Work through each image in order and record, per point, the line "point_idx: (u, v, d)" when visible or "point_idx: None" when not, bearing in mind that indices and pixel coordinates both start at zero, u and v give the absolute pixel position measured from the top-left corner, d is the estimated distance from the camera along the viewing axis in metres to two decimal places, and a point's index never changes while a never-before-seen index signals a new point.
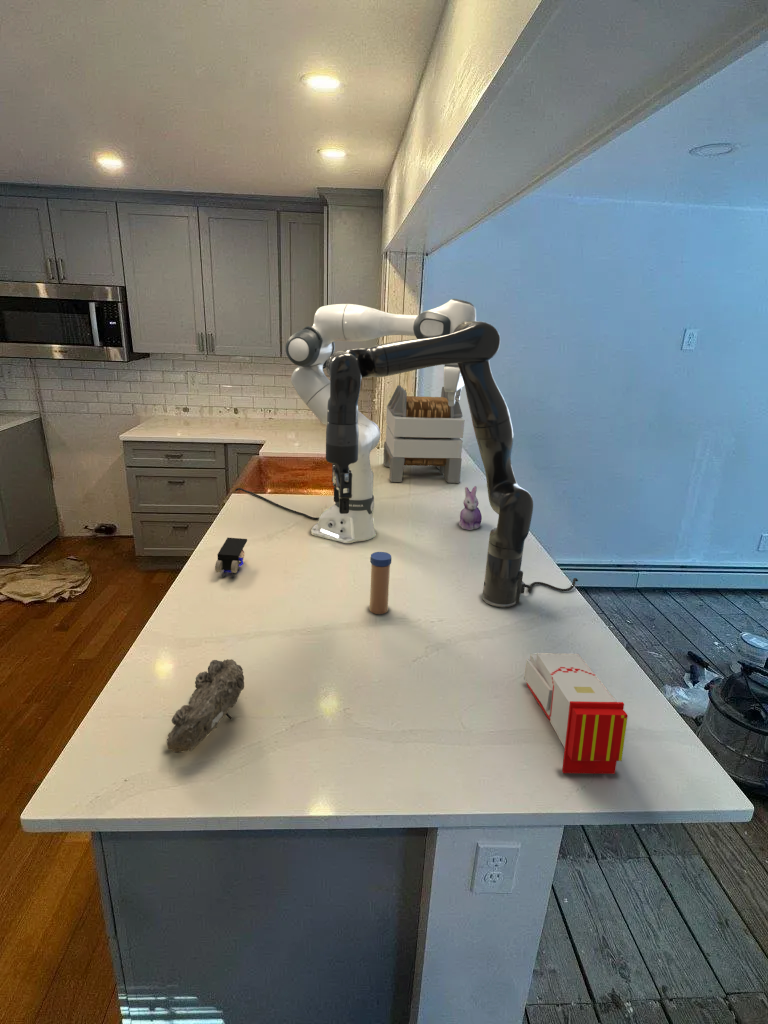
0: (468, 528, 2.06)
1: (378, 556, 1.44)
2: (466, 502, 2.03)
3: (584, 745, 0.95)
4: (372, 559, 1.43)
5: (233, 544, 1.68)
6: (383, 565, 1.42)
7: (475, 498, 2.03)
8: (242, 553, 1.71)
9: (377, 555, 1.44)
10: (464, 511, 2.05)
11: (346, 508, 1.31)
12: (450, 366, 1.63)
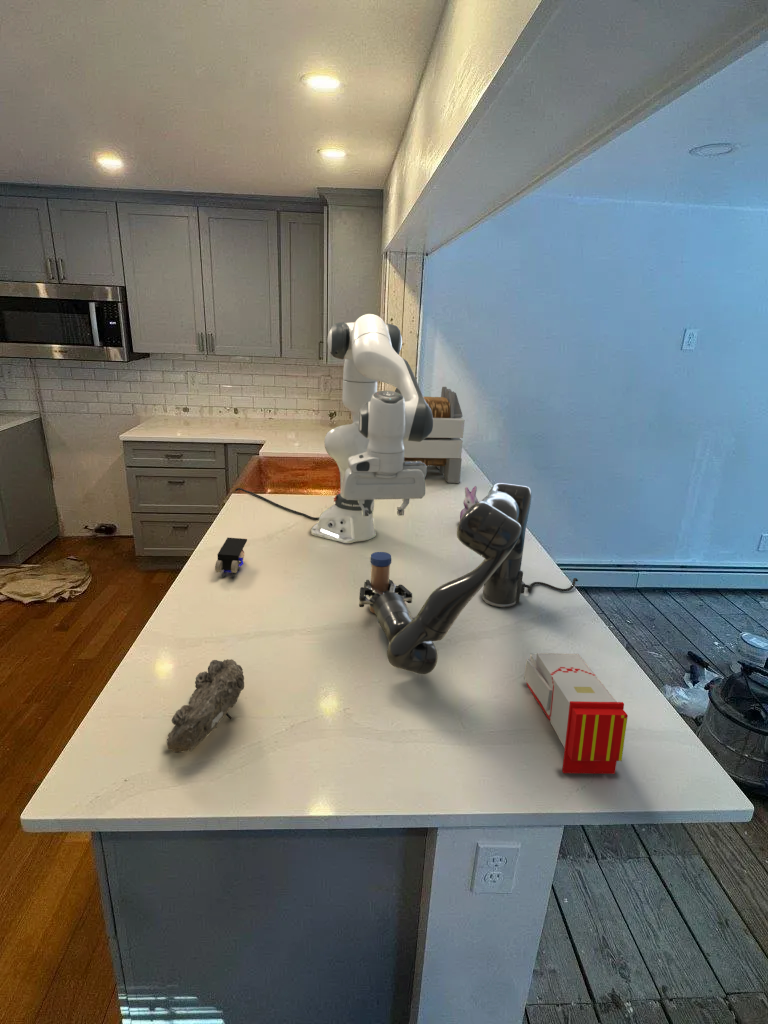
0: None
1: (378, 556, 1.44)
2: (466, 502, 2.03)
3: (584, 745, 0.95)
4: (372, 559, 1.43)
5: (233, 544, 1.68)
6: (383, 565, 1.42)
7: (475, 498, 2.03)
8: (242, 553, 1.71)
9: (377, 555, 1.44)
10: (464, 511, 2.05)
11: None
12: (350, 469, 1.35)
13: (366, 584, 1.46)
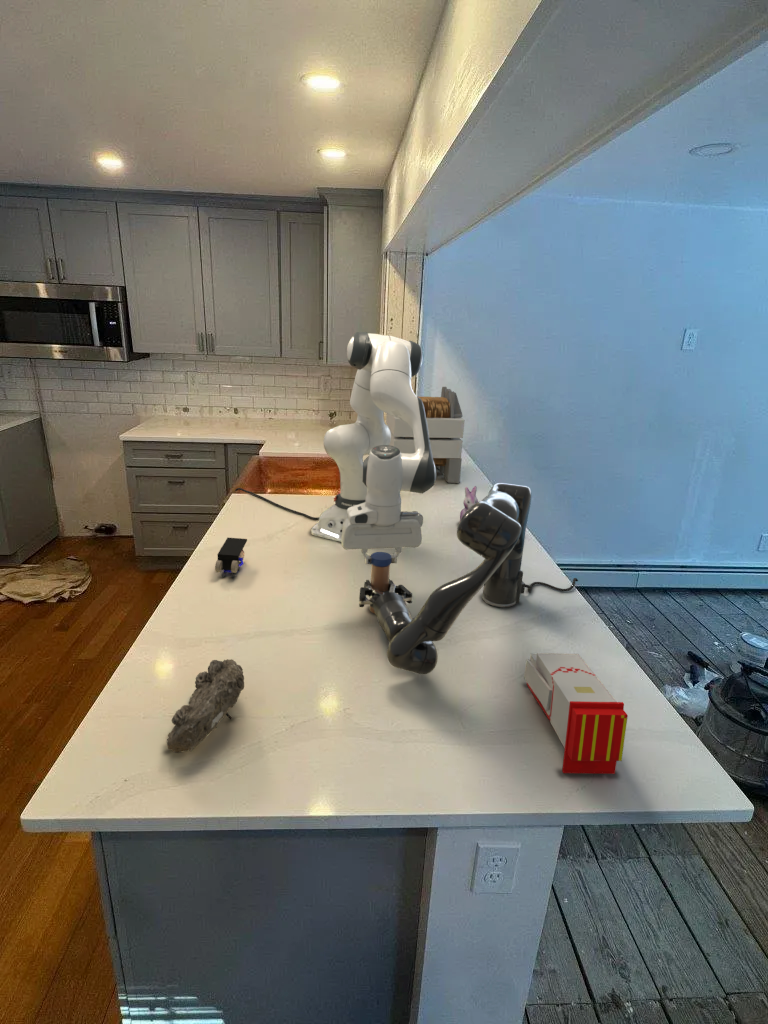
0: None
1: (378, 556, 1.44)
2: (466, 502, 2.03)
3: (584, 745, 0.95)
4: (372, 559, 1.43)
5: (233, 544, 1.68)
6: (383, 565, 1.42)
7: (475, 498, 2.03)
8: (242, 553, 1.71)
9: (377, 555, 1.44)
10: (464, 511, 2.05)
11: None
12: (348, 519, 1.40)
13: (366, 584, 1.46)
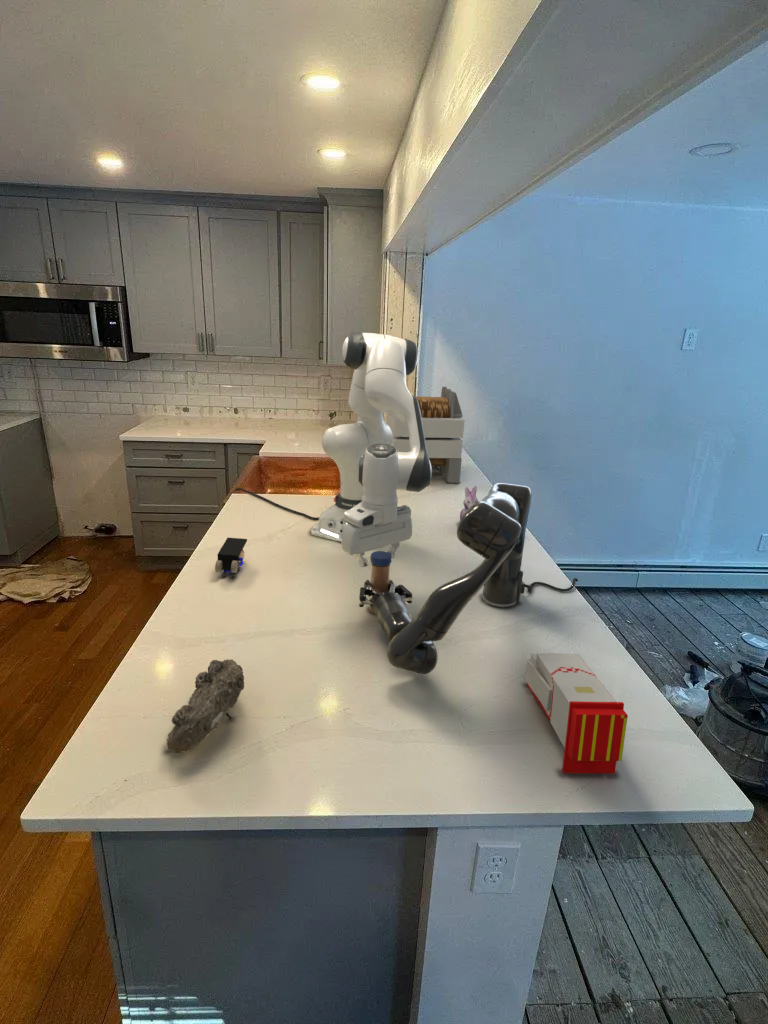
0: None
1: (382, 556, 1.43)
2: (466, 502, 2.03)
3: (584, 745, 0.95)
4: (387, 560, 1.42)
5: (233, 544, 1.68)
6: None
7: (475, 498, 2.03)
8: (242, 553, 1.71)
9: (379, 556, 1.43)
10: (464, 511, 2.05)
11: None
12: (349, 524, 1.36)
13: (366, 584, 1.46)
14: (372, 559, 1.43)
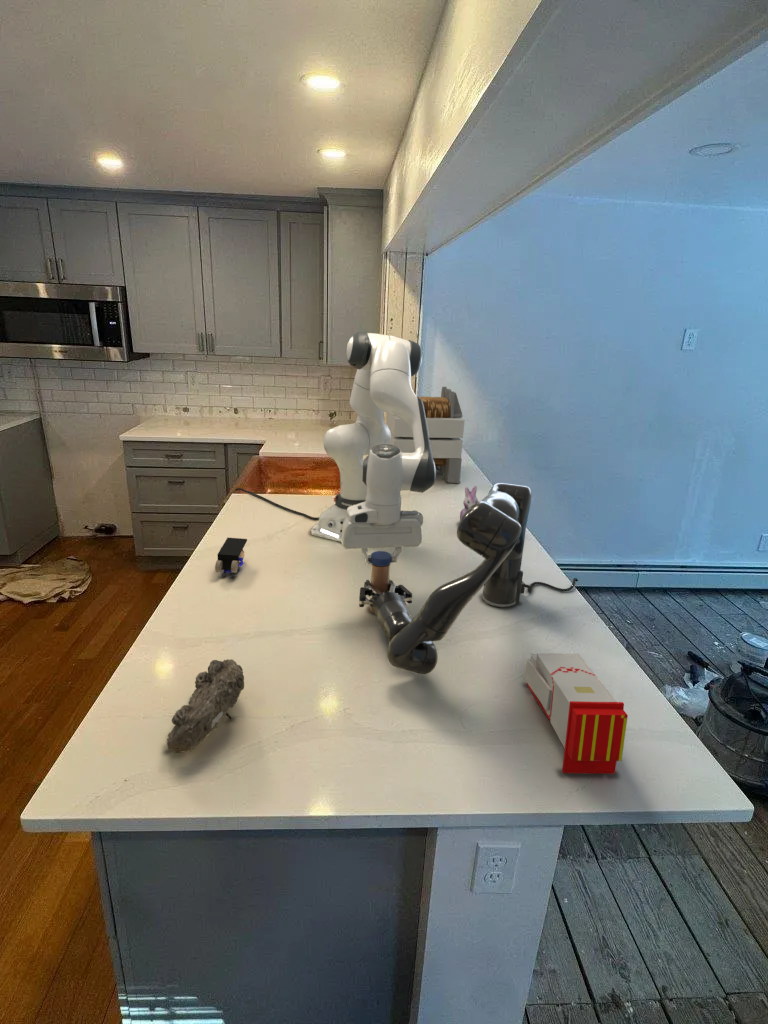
0: None
1: (383, 556, 1.43)
2: (466, 502, 2.03)
3: (584, 745, 0.95)
4: (387, 560, 1.42)
5: (233, 544, 1.68)
6: None
7: (475, 498, 2.03)
8: (242, 553, 1.71)
9: (379, 556, 1.43)
10: (464, 511, 2.05)
11: None
12: (348, 519, 1.40)
13: (366, 584, 1.46)
14: (372, 559, 1.43)
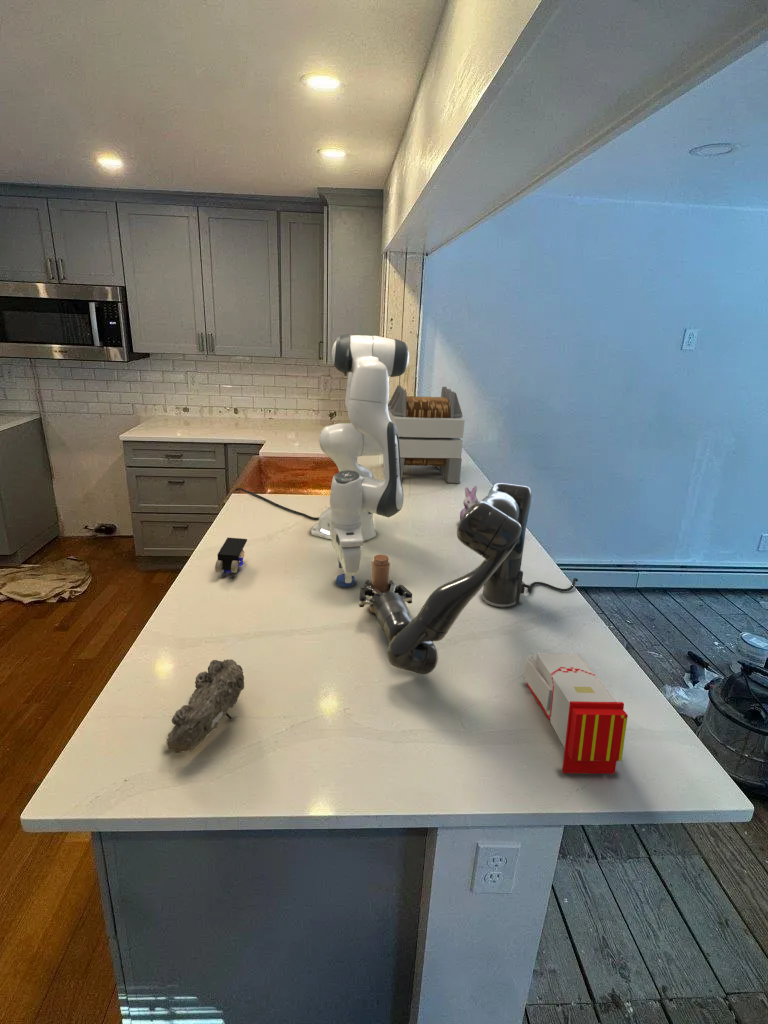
0: None
1: None
2: (466, 502, 2.03)
3: (584, 745, 0.95)
4: None
5: (233, 544, 1.68)
6: None
7: (475, 498, 2.03)
8: (242, 553, 1.71)
9: None
10: (464, 511, 2.05)
11: None
12: (349, 548, 1.50)
13: (366, 584, 1.46)
14: (350, 583, 1.60)
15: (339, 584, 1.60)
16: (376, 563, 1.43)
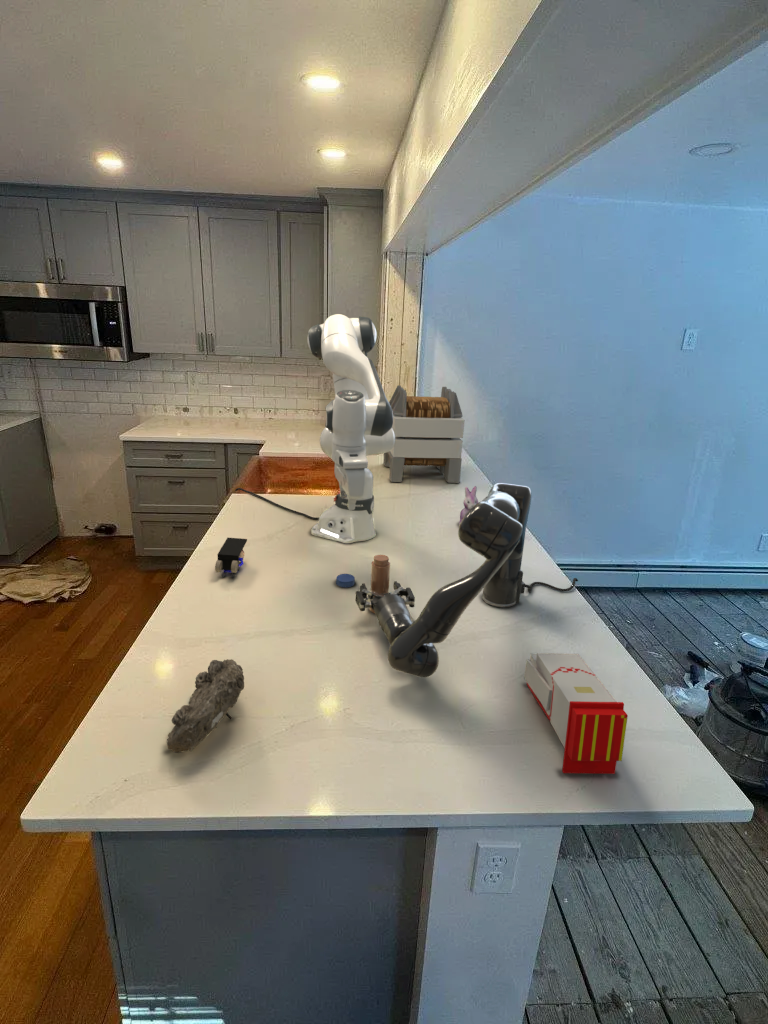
0: None
1: (347, 576, 1.62)
2: (466, 502, 2.03)
3: (584, 745, 0.95)
4: None
5: (233, 544, 1.68)
6: None
7: (475, 498, 2.03)
8: (242, 553, 1.71)
9: (349, 578, 1.62)
10: (464, 511, 2.05)
11: None
12: (353, 470, 1.43)
13: (362, 588, 1.44)
14: (350, 583, 1.60)
15: (339, 584, 1.60)
16: (376, 563, 1.43)
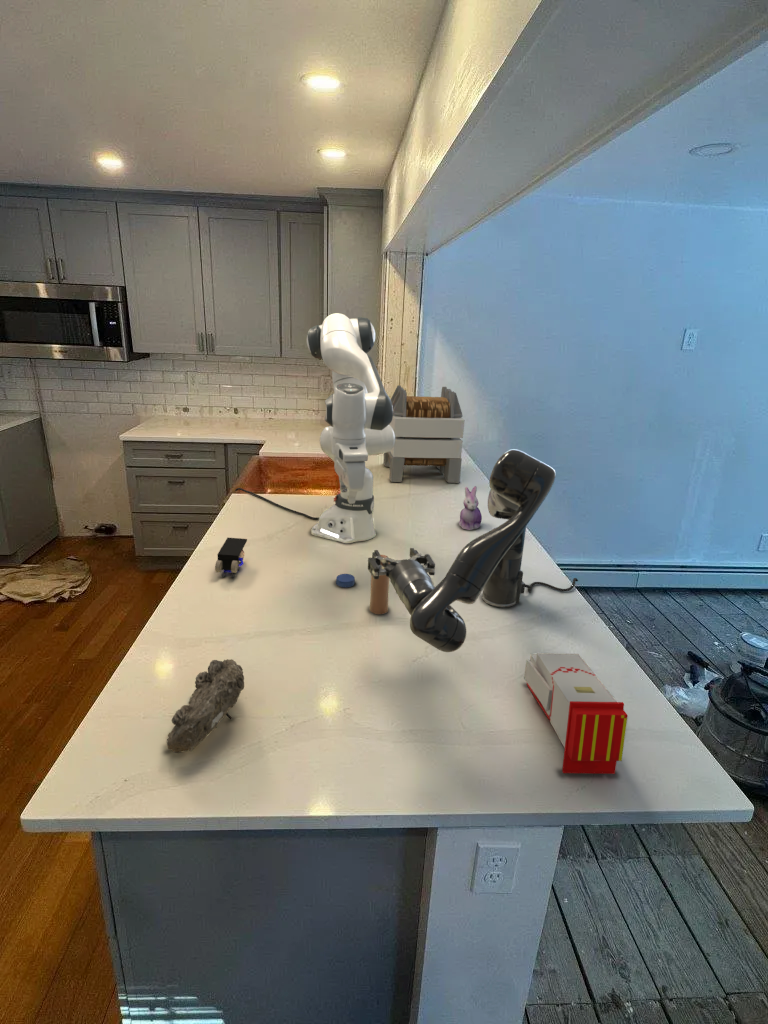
0: (468, 528, 2.06)
1: (347, 576, 1.62)
2: (466, 502, 2.03)
3: (584, 745, 0.95)
4: None
5: (233, 544, 1.68)
6: None
7: (475, 498, 2.03)
8: (242, 553, 1.71)
9: (349, 578, 1.62)
10: (464, 511, 2.05)
11: None
12: (353, 463, 1.42)
13: (374, 555, 1.28)
14: (350, 583, 1.60)
15: (339, 584, 1.60)
16: None
